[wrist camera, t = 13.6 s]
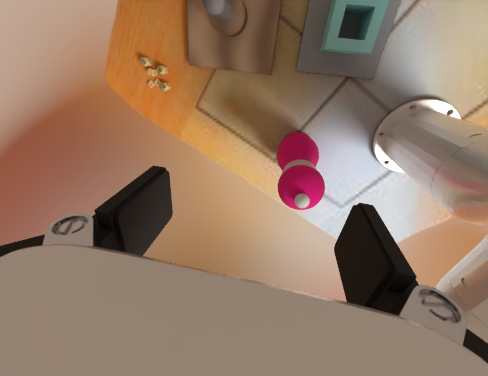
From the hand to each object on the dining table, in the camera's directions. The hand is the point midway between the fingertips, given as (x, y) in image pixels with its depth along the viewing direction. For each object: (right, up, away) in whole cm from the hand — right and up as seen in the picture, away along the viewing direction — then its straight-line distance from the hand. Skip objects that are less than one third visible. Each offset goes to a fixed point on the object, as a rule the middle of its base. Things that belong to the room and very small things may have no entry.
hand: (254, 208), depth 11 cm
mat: (+15, +25, +21) cm, 35 cm away
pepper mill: (+10, +9, +31) cm, 34 cm away
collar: (+15, +24, +20) cm, 35 cm away
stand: (-2, +28, +22) cm, 36 cm away
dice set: (-16, +22, +29) cm, 40 cm away
